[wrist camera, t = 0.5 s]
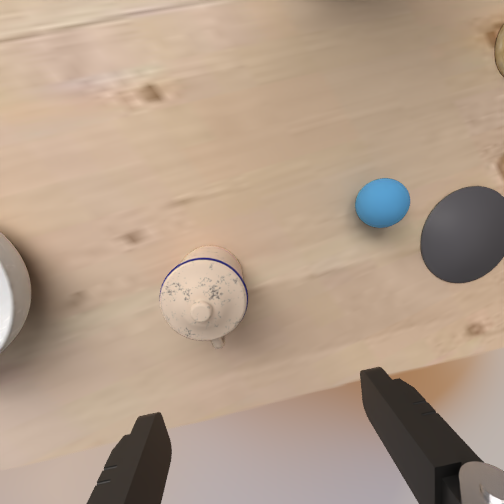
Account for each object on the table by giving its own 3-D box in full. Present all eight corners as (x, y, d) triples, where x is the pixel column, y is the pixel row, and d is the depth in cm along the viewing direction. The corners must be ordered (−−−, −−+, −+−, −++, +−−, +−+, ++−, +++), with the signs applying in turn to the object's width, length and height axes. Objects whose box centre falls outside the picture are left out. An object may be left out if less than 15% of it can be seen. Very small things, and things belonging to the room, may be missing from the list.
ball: (356, 174, 33) (384, 168, 27) (396, 188, 33) (431, 185, 28) (340, 218, 34) (363, 221, 28) (379, 230, 35) (409, 236, 29)
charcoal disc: (446, 172, 34) (447, 172, 33) (529, 203, 35) (531, 203, 35) (405, 268, 36) (406, 268, 36) (484, 292, 38) (485, 293, 38)
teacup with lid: (170, 250, 33) (137, 276, 22) (237, 237, 33) (240, 257, 22) (190, 330, 35) (171, 392, 24) (253, 318, 36) (262, 373, 24)
